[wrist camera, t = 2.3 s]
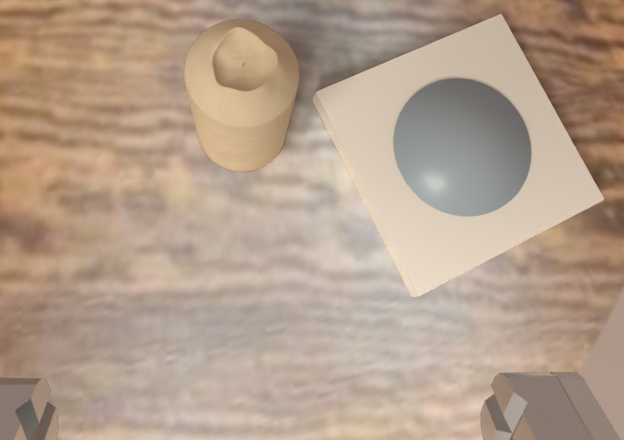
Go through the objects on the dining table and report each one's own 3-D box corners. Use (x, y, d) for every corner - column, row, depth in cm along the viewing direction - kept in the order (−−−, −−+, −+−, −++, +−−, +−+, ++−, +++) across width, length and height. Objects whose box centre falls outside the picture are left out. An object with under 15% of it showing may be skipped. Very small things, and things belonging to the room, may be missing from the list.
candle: (194, 91, 35) (176, 3, 25) (281, 87, 36) (296, 1, 26) (200, 176, 34) (184, 119, 24) (289, 170, 35) (308, 112, 25)
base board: (411, 296, 34) (420, 295, 33) (312, 100, 36) (316, 90, 34) (589, 204, 37) (606, 198, 35) (491, 25, 38) (502, 11, 37)
